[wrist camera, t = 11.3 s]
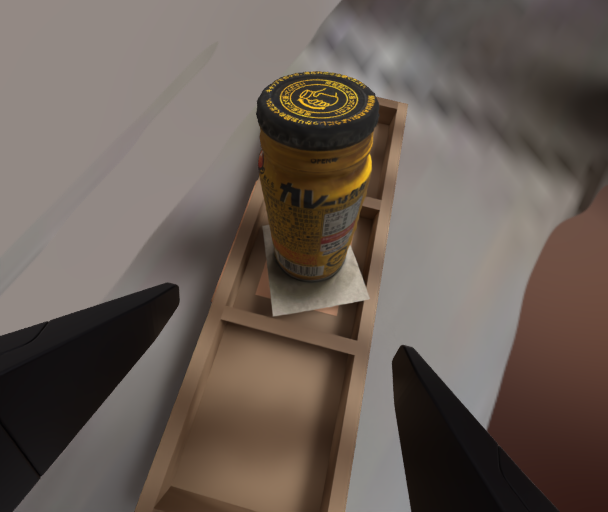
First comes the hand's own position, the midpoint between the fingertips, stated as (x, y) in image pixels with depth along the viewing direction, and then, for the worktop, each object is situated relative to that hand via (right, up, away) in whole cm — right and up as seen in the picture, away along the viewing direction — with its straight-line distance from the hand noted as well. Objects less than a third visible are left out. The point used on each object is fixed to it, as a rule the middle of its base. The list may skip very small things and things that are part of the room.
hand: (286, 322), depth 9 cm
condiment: (+1, +2, +10) cm, 11 cm away
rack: (+1, +2, +12) cm, 12 cm away
